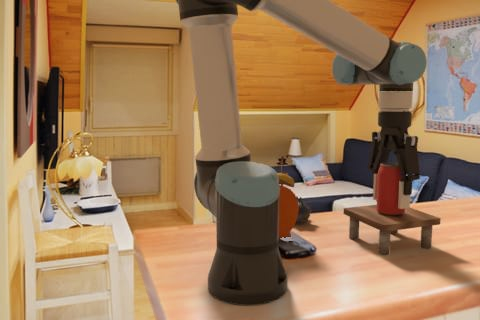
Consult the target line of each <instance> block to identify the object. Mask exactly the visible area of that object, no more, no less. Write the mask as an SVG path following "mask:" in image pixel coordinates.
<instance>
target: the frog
mask: <svg viewBox="0 0 480 320" xmlns="http://www.w3.org/2000/svg"><path fill="white" fill-rule="evenodd" d="M295 196H296V198H297V200H298V207H299V211H298V218H297V220H296V223H300V222H304V221H308V220H309V219H310V217H311V214H310V213H311V212H312V211H313V207H312V206H309V205H307V204H306V203H305V202H303V201H302V200H303V198H302V196H299V197H298V196H297V195H295Z"/></svg>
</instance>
